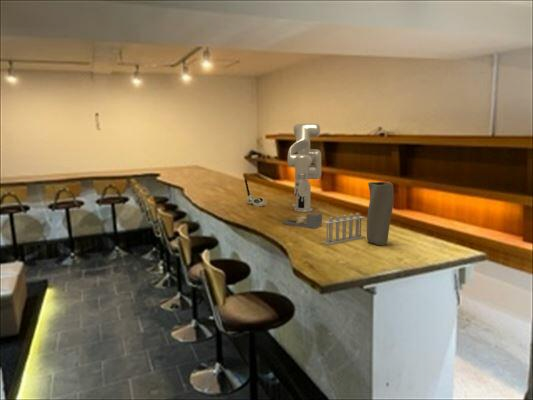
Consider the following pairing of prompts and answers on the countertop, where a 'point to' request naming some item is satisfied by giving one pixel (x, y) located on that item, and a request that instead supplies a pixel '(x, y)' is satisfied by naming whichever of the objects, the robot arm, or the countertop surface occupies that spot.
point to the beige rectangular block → (301, 220)
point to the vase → (379, 212)
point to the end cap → (314, 220)
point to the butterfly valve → (251, 198)
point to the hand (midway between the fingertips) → (301, 207)
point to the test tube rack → (344, 238)
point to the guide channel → (293, 223)
